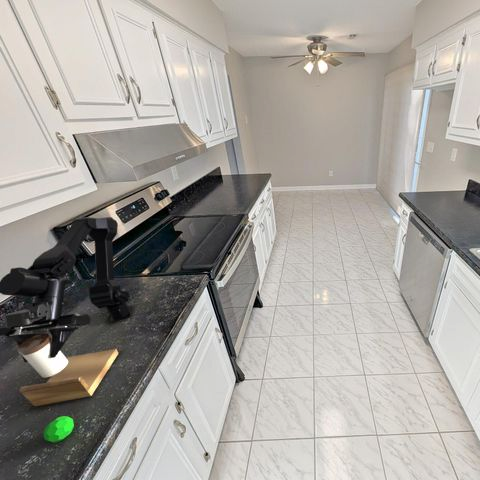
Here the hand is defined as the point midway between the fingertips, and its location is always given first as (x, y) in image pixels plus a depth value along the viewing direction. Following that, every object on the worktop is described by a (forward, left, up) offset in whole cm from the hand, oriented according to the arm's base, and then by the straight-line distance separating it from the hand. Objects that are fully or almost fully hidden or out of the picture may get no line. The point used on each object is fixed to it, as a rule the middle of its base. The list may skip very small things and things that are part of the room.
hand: (39, 359), depth 65 cm
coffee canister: (-1, 0, -5) cm, 5 cm away
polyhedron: (+14, +3, -13) cm, 20 cm away
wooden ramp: (-3, +3, -13) cm, 14 cm away
